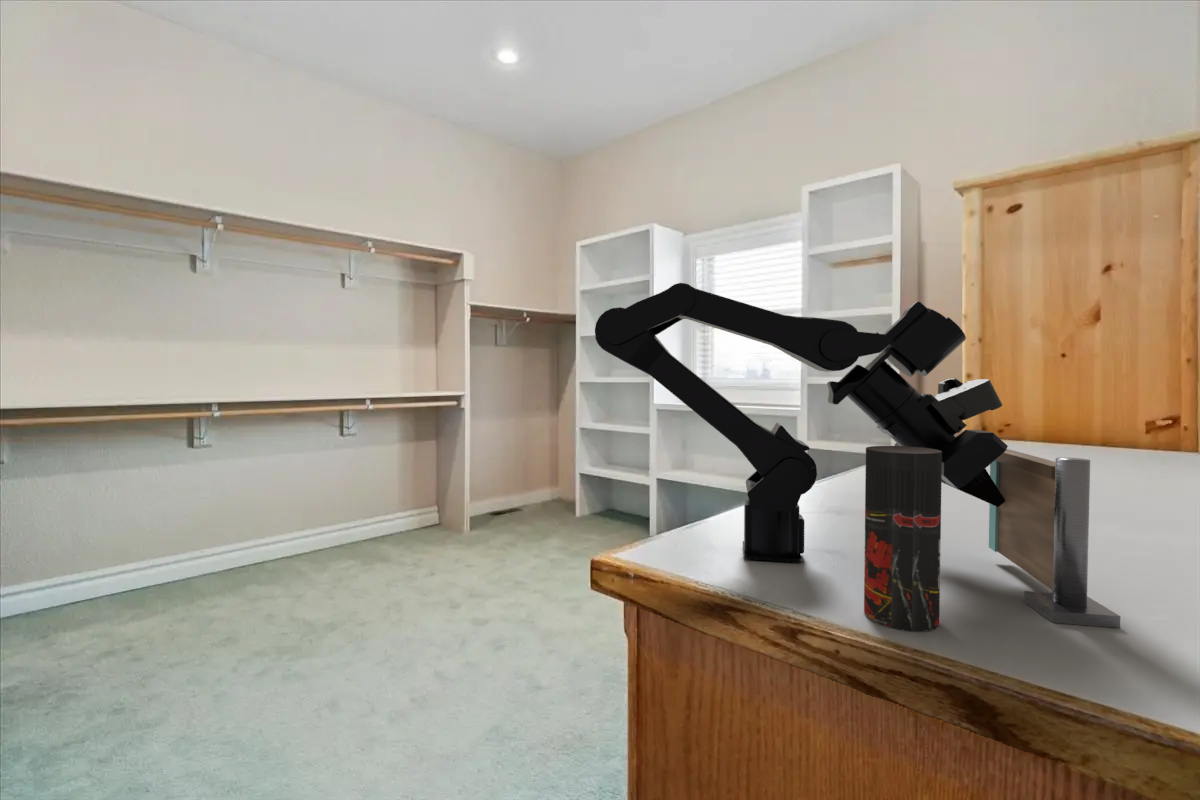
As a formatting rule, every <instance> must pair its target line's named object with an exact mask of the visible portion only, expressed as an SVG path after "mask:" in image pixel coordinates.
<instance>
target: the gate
mask: <svg viewBox="0 0 1200 800" xmlns="http://www.w3.org/2000/svg"><path fill="white" fill-rule="evenodd" d="M989 475H990V477H991V478H992V480H993V482H994V483H995V485H996V486H997V488H998V489H999V491H1000V493H1001V494H1002V496H1003V497H1004V499H1005V502H1004V503H1003V504H1002V505H1000V506H999V507H996V506H994V505H992V504H990V503H988V504H989V509H988V510H989V512H988V513H989V514H988V548H989V549H990V550H992V551H993V552H994V553H999V554H1000V555H1002V557H1005V558H1006V559H1007V560H1009V562H1012V563H1013V564H1015V565H1016V566H1017V567H1019V568H1020V569H1021V570H1023V571H1024V572H1026V573H1027V574H1029V575H1030V576H1032V577H1033V578H1035V579H1036V580H1037V581H1038V582H1040V583H1042V584H1043V586H1046V587H1047V588H1049V590H1051V591H1053V555H1054V508H1055V460H1050V459H1046V458H1043V457H1039V456H1035V455H1031V454H1028V453H1024V452H1020V451H1016V450H1012V449H1010V448H1007V449H1006V451H1005V452H1004V453H1003V454H1001V455H1000V456H999V457H998V458H997V459H996V460H994V461H993V462H992V463H991V464H990V465H989Z"/></svg>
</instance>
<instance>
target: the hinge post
mask: <svg viewBox="0 0 1200 800" xmlns="http://www.w3.org/2000/svg"><path fill="white" fill-rule="evenodd" d="M1054 462H1055V508H1054V555H1053V590H1052V592H1048V591H1047V592H1046V591H1033V590H1023V602H1024V603H1025V604H1026V605H1028V606H1029V607H1031V608H1032V609H1033V610H1034V611H1037V612H1038V613H1039V614H1041V616H1042V617H1044V618H1046V619H1047V620H1048V621H1050V622H1051V623H1053V624H1066V625H1077V626H1079V625H1080V626H1089V627H1091V626H1093V627H1104V628H1105V627H1106V628H1117V629H1120V628H1121V616H1120V615H1119V614H1117V613H1115V612H1114V611H1113V610H1111V609H1109V608H1107V607H1106V606H1104V605H1103V604H1100V603H1099V602H1097V601H1096V600H1094V599H1092V598H1091V597H1089V596H1088V581H1089V580H1088V576H1089V575H1088V574H1089V573H1088V572H1089V571H1088V570H1089V567H1088V566H1089V535H1090V534H1089V531H1090V530H1089V528H1090V491H1091V490H1090V488H1091V487H1090V486H1091V484H1090V483H1091V459H1087V458H1081V457H1080V458H1079V457H1066V456H1065V457H1062V456H1061V457H1055V460H1054Z"/></svg>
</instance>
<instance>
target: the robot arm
mask: <svg viewBox="0 0 1200 800" xmlns="http://www.w3.org/2000/svg"><path fill="white" fill-rule="evenodd" d="M683 320H689V321H692V322H695V323H698V324H702V325H704V326H708V327H711V328H714V329H717V330H718V329H719V330H721V331H725V332H727V333H730V334H734V335H737V336H740V337H743V338H746V339H748V340H752V341H757V342H760V343H762V344H766V345H769V346H772V347H773V348H775V349H777V350H779V351H781V352H783V353H785V355H788V356H789V357H791V358H793V359H794V360H798V361H799V362H801V363H802V364H805V365H807V366H808V367H810V368H812V369H814V370H817V371H819V372H824V373H828V372H829V373H830V372H839V371H843V370H846V369H848V368H849V367H851V366H853V365H854V364H855V363H856V362H857V361H858V359H859V358H861V357H865V356H870V355H871V356H872V355H876V354H878V355H877V356H876V357H875V358H874V359H872V360H871V361H870V362H869V363H868V364H867V365H866V366H862V365H860V364H855V366H853V368H851V369H850V370H849V371H848V372H847V373H846V374H845V375H844V376H843V377H842V378H840V380H839V381H833V380H832V381H831V380H830V381H827V384H826V385H827V388H828V398H827V402H828V403H829V404H831V405H834V406H835V405H839V404H840V403H841V402H842V401H843V400H845V398H848V399H849V400H850V401H851V402H853V404H854V405H856V406H857V407H858V408H859V409H860V410H861V411H862V412H863V413H864V414H865V415H867V417H869V418H870V419H871V421H873V422H874V423H875V425H876V428H877V429H878V430H879V431H880V432H881V433H883V434H885V435H888V436H889V437H890V439H892V440H893V441H894V442H895V443H894V446H909V447H922V448H931V449H937V450H940V451H942V479H941V484H944V485H947V486H949V487H952V488H953V489H956V490H958V491H960V492H963V493H965V494H967V495H970V496H971V497H974V498H976V499H978V500H981V501H983V502H985V503H988V504H989V503H990V504H992V505H994V506H996V507H999V506H1000V505H1002V504H1003V503H1004V502H1005V499H1004V497H1003V496H1002V494H1001V493H1000V491H999V489H998V488H997V486H996V485H995V483H994V482H993V480H992V478H991V477H990V473H989V472H988V471H987V469H986V468H987V467H990V464H991V463H992V462H993V461H994V460H996V459H997V458H998V457H999V456H1000V455H1001V454H1003V453H1004V452H1005V451H1006V449H1008V447H1009V446H1008V445H1007V444H1006V443H1005V442H1004V441H1003V440H1002V439H1001V438H1000V437H999V436H997V434H996V433H994V432H991V431H986V430H981V429H965V427H967V424H966V423H965V422H964V421H965V420H968V419H971V418H973V417H975V416H978V415H981V414H982V413H984V412H988V411H995V410H997V409H1000V408H1001V407H1002V406H1003V403H1002V401H1001V398H1000V397H999V395H998V392H997V391H996V389H995V387H994V386H993V383H992V382H991V380H990V379H988V378H987V379H984V378H981V379H980V378H979V379H974V380H966V381H965V382H964V383H963V382H962V381H960V380H958V379H957V378H956V377H955V378H948V379H946V380H943V381H940V382H939V383H938V384H937V385H938V386H937V393H936V394H934V396H933V394H930V393H920V392H919V391H918V390H917V389H916V388H915V387H914V386H913V385H912V384H911V383H910V382H909V381H907V380H906V379H905V378H904V377H903V376H902V375H901V374H899V373H898V372H897V371H896V369H897V370H898V371H900V372H901V373H902V374H903V375H906V376H907V377H910V378H912V377H913V376H914V375H915V374H918V375H920V376H923V377H926V376H928V375H929V374H930V373H931V372H932V371H933V370H934V369H935V368H937V366H938V365H940V364H941V363H942V362H943V361H944V360H945V359H947V358H948V356H950V355H951V354H952V353H953V352H954V351H955V350H956V349H957V348H959V346H961V345H962V344H963V343H964V342H965V341H966V340H967V339H966V338H967V337H966V334H965V333H964V331H963V329H962V328H961V327H960V326H959V325H958V324H957V323H956V322H955V321H954V320H952V318H950V317H948V316H946V317H945V315H943V314H941V313H939V312H938V311H936V310H934V309H931V308H929V307H927V306H926V305H924V303H922V302H921V301H915V302H914V303H911V304H910V305H909V306H908V307H907V308H905V310H904V311H903V313H902V314H901V316H900V317H899V318H897V320H896V321H895V322H894V323H893V324H892V325H891V326H890V327H889V328H888V329H886V331H884V333H879V332H878V331H876V332H868V331H867V332H865V331H858V329H857V328H856V327H855V326H854V325H853V324H851V323H849V322H847V321H843V320H838V319H837V320H836V319H829V318H822V317H821V318H820V317H814V316H813V317H812V316H798V315H797V316H795V315H794V316H793V315H786V314H781V313H779V312H778V313H777V312H774V311H771V310H768V309H765V308H762V307H758V306H756V305H755V306H754V305H751V304H748V303H745V302H741V301H738V300H734V299H731V298H728V297H724V296H722V295H718V294H715V293H711V292H708V291H705V290H702V289H698V288H696V287H693V286H692V285H691V284H688V283H687V282H686V283H685V282H678V283H674V284H672V285H671V286H670V287H669V288H667V289H665V290H663V291H660V292H658V293H655V294H654V295H652V296H649V297H646V298H644V299H641V300H639V301H637V302H635V303H633V304H631V305H629V306H627V307H621V306H620V307H614V308H610V309H607V310H605V311H604V312H603V313H601V314H600V315H599V317H598V319H597V321H596V322H595V327H594V336H595V341H596V343H597V344H598V346H599V347H600V348H601V349H602V350H603V351H605V352H606V353H608V354H610V355H612V356H613V357H615V358H617V359H619V360H621V361H622V362H624V363H626V364H628V365H630V366H631V367H633V368H636V369H638V370H639V371H641V372H643V373H645V374H647V375H649V376H650V377H652V378H653V379H654V380H655V381H656V382H658V383H659V384H660V385H661V386H663V387H664V388H665V389H666V390H668V391H669V392H670V393H671V394H673V396H675V397H676V398H677V399H679V401H681V402H682V404H683V403H684V405H686V406H687V407H688V408H690V410H692V411H693V412H694V413H695V414H697V415H698V416H699V417H700V418H702V419H703V420H704V421H705V422H706V423H708V424H709V425H710V426H711V427H712V428H714V429H715V430H716V431H718V432H719V433H720V434H722V436H724V437H725V438H726V439H727V440H728V441H730V442H731V443H733V445H734V446H736V447H737V449H738V450H740V452H741V453H742V454H743V456H744V457H745V459H747V461H748V462H749V463H750V464H751V466H752V467H753V468H754V469H755V470H756V471H754V472H753V473H752V474H751V475H750V476H749V477H748V478H747V479H746V480H745V486H746V491H747V492H746V493H747V494H746V495H747V497H748V499H744V500H743V505H744V506H743V513H744V514H743V515H744V517H743V519H744V520H743V522H744V523H743V541H742V551H743V552H742V553H743V554H742V555H743V558H744V559H745V560H757V561H772V562H773V561H774V562H787V563H788V562H789V563H801V562H802V555H801V554H803V555H804V553H805V519H804V517H803V515H802V514H801V513H800V506H799V501H800V498H801V496H802V495H804V494H806V493H807V492H808V491H810V490H811V489H812V487H814V485H815V483H816V482H817V481H816V480H817V476H818V470H817V469H818V468H817V464H816V462H815V460H814V459H813V457H812V456H811V455H810V454H809V453H808V452H807V451H809V450H810V447H809V445H808V444H806V443H805V442H804V441H802V440H799V439H797V438H795V437H793V436H792V435H791V434H790V433H789V432H788V431H787V430H786V428H785V427H784V426H783V425H782V424H780V423H779V422H778V421H777V422H776V423H775V424H774V426H773V427H772V429H771V430H770V429H769V428H767V427H765V426H763V425H762V424H759V423H758V422H756V421H754V420H753V419H752V418H750V417H749V416H748V415H747V414H746V413H745V412H743V411H742V410H741V409H740V408H738V407H737V406H736V405H735V404H733V403H732V402H731V401H730V400H728V399H727V398H726V397H724V396H723V395H722V394H721V393H720V392H718V390H716V389H715V388H713V386H711V385H709V384H708V383H707V382H706V381H705V380H704V379H703V378H701V377H700V376H698V374H696V373H695V372H693V371H692V370H691V369H690V368H689V367H687V365H685V364H684V363H682V362H681V361H680V360H679V359H678V358H676V357H675V356H674V355H673V354H671V352H669V350H668V349H667V348H666V346H665V345H664V344H663V343H662V342H661V340H660V339H659V338H658V337H657V335H659V334H660V333H663V332H664V331H665V330H667V329H668V328H671V327H672V326H673V325H676V324H677V323H678V322H681V321H683ZM886 360H887V361H888V362H890V364H892V365H893V367H894V368H896V369H894V368H893V367H892V366H891V365H890V364H889V363H887V362H886ZM962 430H963V431H962ZM961 431H962V432H961ZM960 432H961V433H960ZM956 434H958V435H956ZM955 435H956V436H955Z"/></svg>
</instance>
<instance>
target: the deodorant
mask: <svg viewBox="0 0 1200 800" xmlns="http://www.w3.org/2000/svg"><path fill="white" fill-rule="evenodd" d="M941 479H942V451H940V450H937V449H931V448H922V447H909V446H895V445H875V446H874V445H873V446H867V447H865V487H864V488H865V491H864V492H865V494H864V497H865V499H864V500H865V501H864V568H863V569H864V573H863V575H864V577H863V579H864V580H863V581H864V585H863V587H864V588H863V591H864V592H863V593H864V594H863V614H864V615H865V616H866V618H868V619H869V620H871V621H872V622H874V623H877V624H878V625H881V626H884V627H887V628H891V629H894V630H899V631H907V632H918V633H920V632H921V633H922V632H930V631H933V630H936V629H937V628H939V626H940V612H941V611H940V605H941V603H940V600H941V595H940V594H941V591H940V590H941V586H940V585H941V539H942V538H941V536H942V534H941V530H942V482H941Z"/></svg>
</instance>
